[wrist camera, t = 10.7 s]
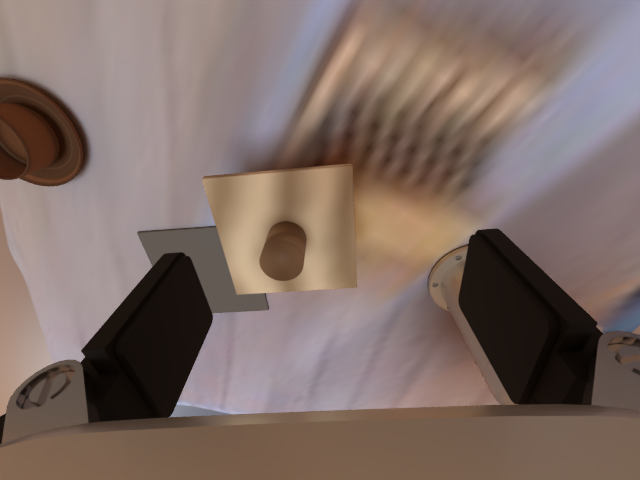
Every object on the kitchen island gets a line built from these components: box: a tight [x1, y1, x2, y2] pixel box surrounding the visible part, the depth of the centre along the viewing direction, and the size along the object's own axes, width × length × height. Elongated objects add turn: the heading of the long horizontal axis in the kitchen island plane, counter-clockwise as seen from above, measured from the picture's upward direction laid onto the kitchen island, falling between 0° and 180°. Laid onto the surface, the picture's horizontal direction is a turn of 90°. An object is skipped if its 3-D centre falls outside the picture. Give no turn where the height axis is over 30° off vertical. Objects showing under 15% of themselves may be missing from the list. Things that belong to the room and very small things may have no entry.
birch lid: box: [202, 163, 357, 295], centre depth 29 cm, size 14×14×5 cm
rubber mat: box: [137, 226, 269, 313], centre depth 46 cm, size 16×16×1 cm
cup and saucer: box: [0, 77, 83, 186], centre depth 33 cm, size 12×12×6 cm
